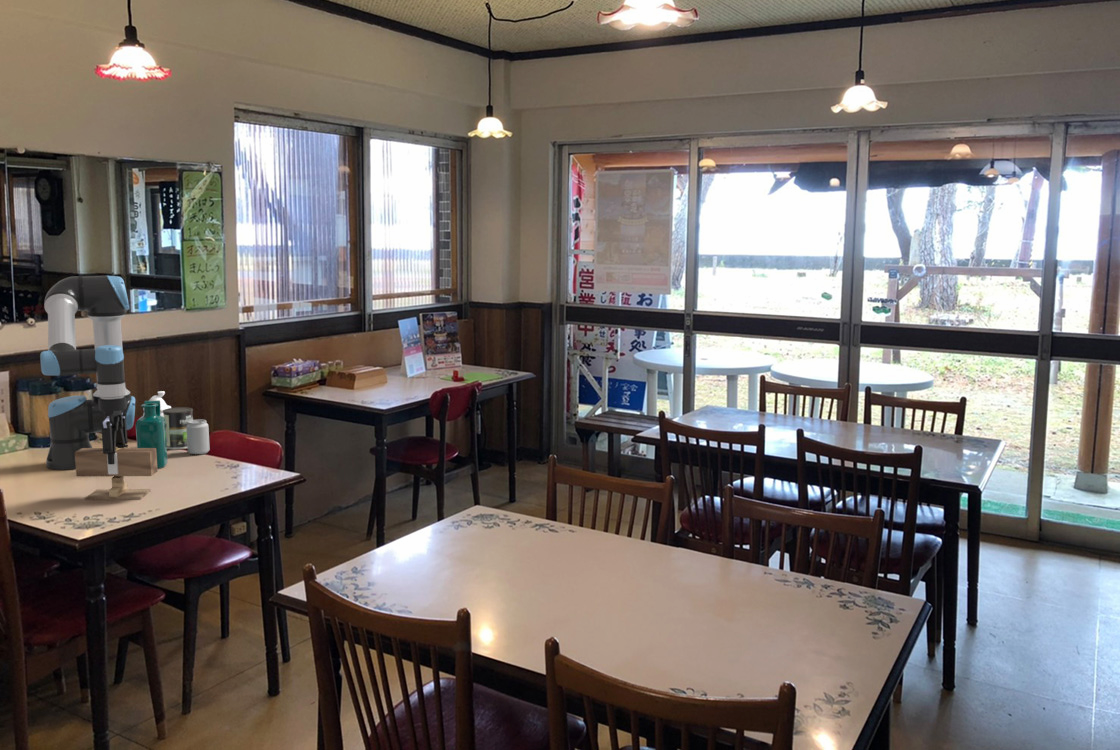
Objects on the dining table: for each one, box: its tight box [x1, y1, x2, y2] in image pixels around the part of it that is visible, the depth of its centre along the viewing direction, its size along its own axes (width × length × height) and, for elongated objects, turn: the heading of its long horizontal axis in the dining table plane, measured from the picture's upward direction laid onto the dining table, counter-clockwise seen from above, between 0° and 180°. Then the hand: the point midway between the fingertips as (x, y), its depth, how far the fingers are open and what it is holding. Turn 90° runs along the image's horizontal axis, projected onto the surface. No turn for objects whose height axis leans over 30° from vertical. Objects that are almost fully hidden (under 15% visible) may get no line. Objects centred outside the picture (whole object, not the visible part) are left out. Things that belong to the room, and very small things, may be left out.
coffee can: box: [163, 406, 194, 450], centre depth 332 cm, size 10×10×14 cm
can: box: [186, 419, 211, 456], centre depth 324 cm, size 8×8×12 cm
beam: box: [75, 447, 159, 477], centre depth 271 cm, size 5×22×8 cm, turn 94°
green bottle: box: [135, 400, 169, 469], centre depth 305 cm, size 10×8×22 cm
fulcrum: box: [85, 476, 152, 501], centre depth 272 cm, size 8×16×6 cm, turn 95°
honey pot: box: [141, 390, 172, 417], centre depth 346 cm, size 13×13×18 cm
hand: (117, 471), depth 271 cm, fingers closed on beam, 5 cm apart
